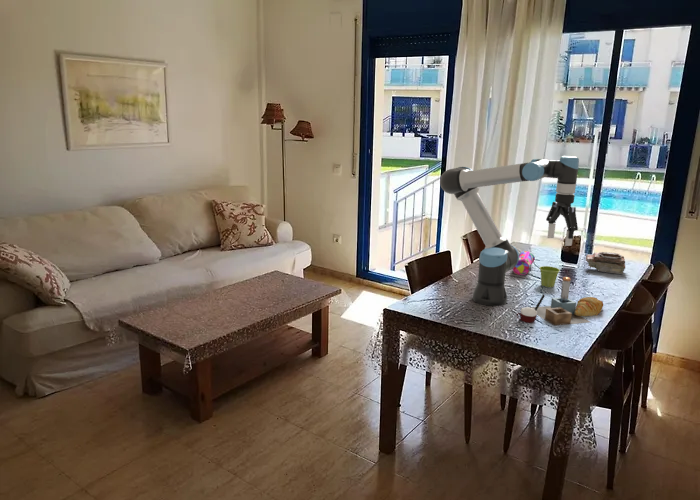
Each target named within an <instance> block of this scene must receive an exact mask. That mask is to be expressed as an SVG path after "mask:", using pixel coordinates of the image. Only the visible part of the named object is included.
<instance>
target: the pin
mask: <svg viewBox="0 0 700 500" xmlns="http://www.w3.org/2000/svg"><path fill="white" fill-rule="evenodd" d="M571 280H572V279H571V278H570V277H568V276H563V277H562V284H561V291H560V297H559V298H560V302H562V303H565V302H568V298H569V294H570V286H571Z"/></svg>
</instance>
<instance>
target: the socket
mask: <svg viewBox="0 0 700 500" xmlns="http://www.w3.org/2000/svg"><path fill="white" fill-rule="evenodd" d="M560 298H561V297H551V301H550V306H551V308H558V307H561V308H563V309H565V310H567V311H568V312H570V313H572V314H574V313H575V309H576V306H577V302H576V301H574V300H572V299H570V298H569V297H568V302H565V303H562V302H560Z"/></svg>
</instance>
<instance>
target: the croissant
mask: <svg viewBox="0 0 700 500" xmlns="http://www.w3.org/2000/svg"><path fill="white" fill-rule="evenodd" d="M603 307H604V302H603V300H600V299H598V298H597V297H593V296H585V297H581V298H580V299H578V301H577V302H576V309H575V313H574V314H575V315H576V316H581V317H593V316H598V315H600V313H601V311H603Z"/></svg>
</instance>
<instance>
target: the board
mask: <svg viewBox="0 0 700 500" xmlns="http://www.w3.org/2000/svg"><path fill="white" fill-rule="evenodd" d="M535 307H536V306H535ZM535 307H534V306H533V307H531V308H533V309H535ZM546 308H551V305H546V306H543V305H542V306H539V307H538V309H537V310H536V311H537V316H538V317H540V318H542V319H543V320H545V321H546V322H547V323H549V324H550V325H553V326H554V327H556V326H558V327H559V326H565V325H578V324H587V323H591V321H589V320H588V319H586V318H584V316H576V315H575V314H572V315H571V323H561V324H555V323H553V322H551V321H550V320H548V319H547V318H545V314H546Z"/></svg>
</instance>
